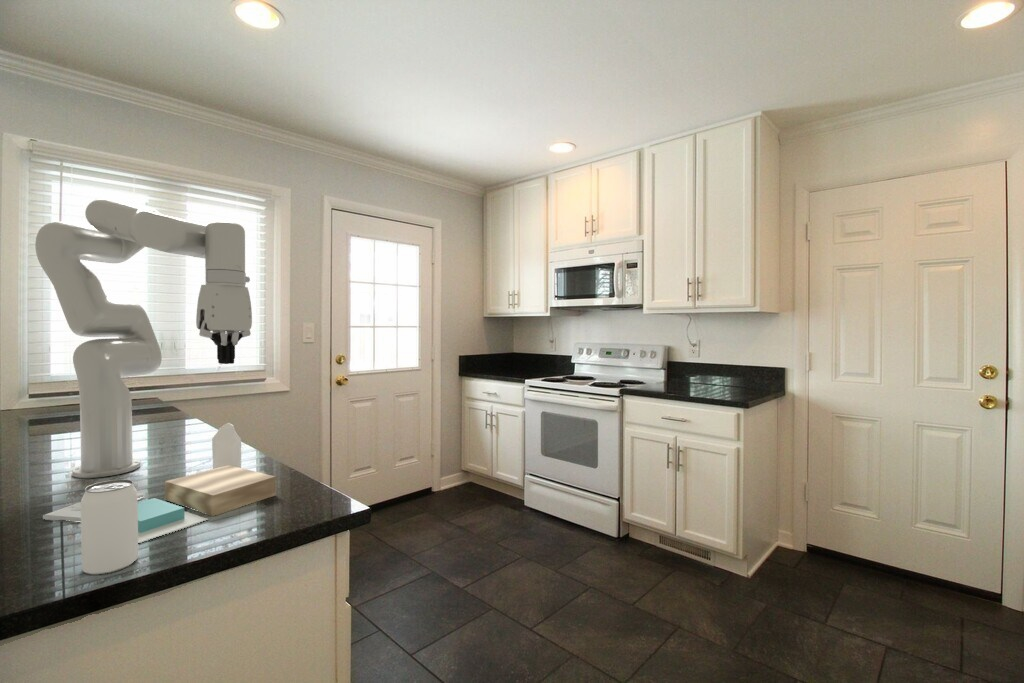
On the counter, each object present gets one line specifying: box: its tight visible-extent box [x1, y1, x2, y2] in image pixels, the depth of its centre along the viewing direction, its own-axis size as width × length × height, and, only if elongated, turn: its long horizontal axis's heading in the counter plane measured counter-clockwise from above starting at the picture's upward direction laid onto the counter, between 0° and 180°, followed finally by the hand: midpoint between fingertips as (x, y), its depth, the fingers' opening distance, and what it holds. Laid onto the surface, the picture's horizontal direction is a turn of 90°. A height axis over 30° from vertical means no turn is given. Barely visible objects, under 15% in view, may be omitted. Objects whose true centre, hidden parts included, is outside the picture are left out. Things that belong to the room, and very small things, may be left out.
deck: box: [164, 465, 276, 517], centre depth 100 cm, size 16×13×4 cm
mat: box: [138, 510, 209, 544], centre depth 88 cm, size 18×11×1 cm, turn 62°
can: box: [80, 478, 139, 576], centre depth 72 cm, size 6×6×12 cm
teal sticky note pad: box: [138, 497, 185, 533], centre depth 88 cm, size 10×7×2 cm
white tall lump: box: [211, 422, 242, 469], centre depth 116 cm, size 6×12×6 cm
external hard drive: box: [42, 492, 144, 521], centre depth 94 cm, size 2×8×12 cm
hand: (226, 363), depth 107 cm, fingers closed
